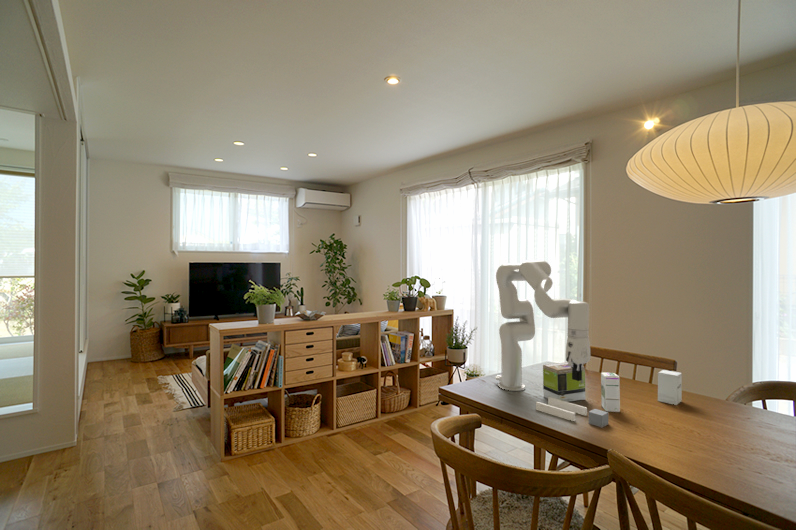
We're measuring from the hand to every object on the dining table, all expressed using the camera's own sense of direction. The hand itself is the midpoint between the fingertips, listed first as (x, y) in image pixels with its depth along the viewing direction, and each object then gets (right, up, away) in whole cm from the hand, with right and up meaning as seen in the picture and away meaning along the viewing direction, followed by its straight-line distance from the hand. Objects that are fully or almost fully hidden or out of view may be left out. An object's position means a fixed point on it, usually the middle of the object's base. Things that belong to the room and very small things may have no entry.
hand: (576, 379), depth 157 cm
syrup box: (+18, -15, +8) cm, 24 cm away
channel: (-4, -15, +5) cm, 16 cm away
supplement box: (+48, -15, +18) cm, 54 cm away
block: (+5, -15, -6) cm, 17 cm away
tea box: (+4, -15, +22) cm, 27 cm away
